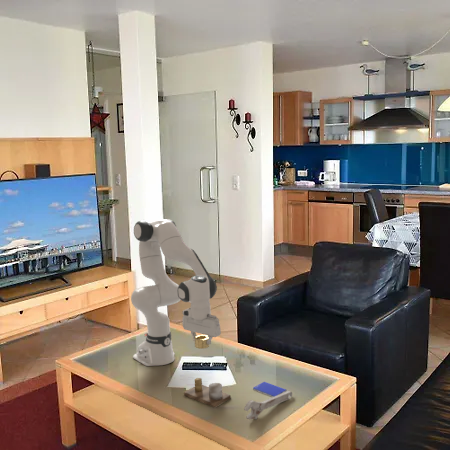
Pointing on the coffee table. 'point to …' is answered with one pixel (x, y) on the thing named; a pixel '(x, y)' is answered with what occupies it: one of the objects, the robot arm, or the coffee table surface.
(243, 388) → the coffee table surface
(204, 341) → the ring
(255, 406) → the wrench
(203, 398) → the stub board
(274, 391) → the hard drive
